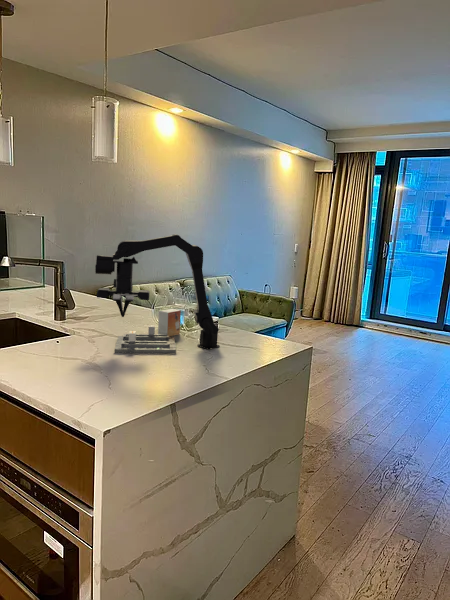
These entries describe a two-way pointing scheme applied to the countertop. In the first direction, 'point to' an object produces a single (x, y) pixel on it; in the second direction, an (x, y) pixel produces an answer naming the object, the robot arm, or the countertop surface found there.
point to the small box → (169, 322)
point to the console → (146, 344)
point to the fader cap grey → (151, 330)
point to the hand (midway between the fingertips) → (122, 316)
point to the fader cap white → (132, 336)
